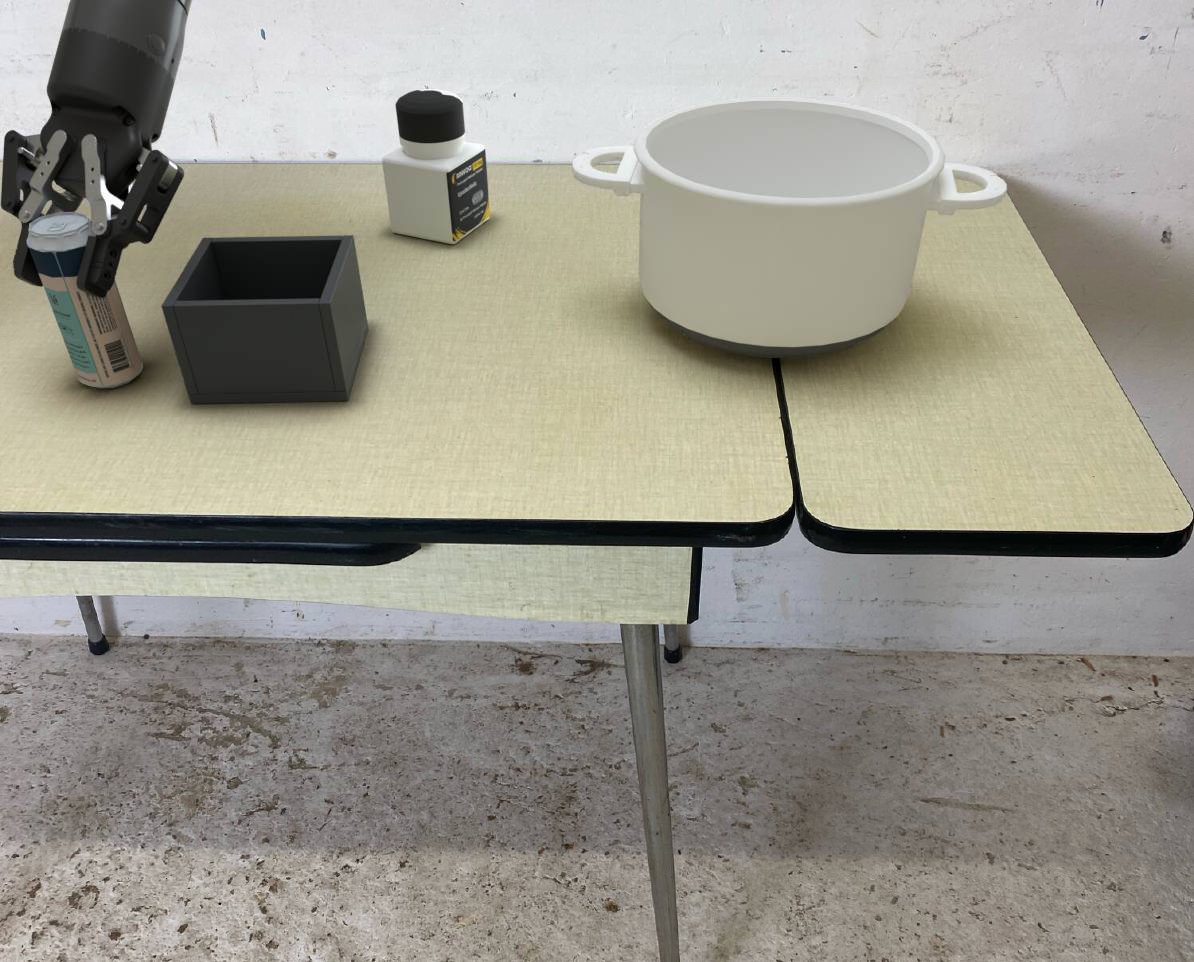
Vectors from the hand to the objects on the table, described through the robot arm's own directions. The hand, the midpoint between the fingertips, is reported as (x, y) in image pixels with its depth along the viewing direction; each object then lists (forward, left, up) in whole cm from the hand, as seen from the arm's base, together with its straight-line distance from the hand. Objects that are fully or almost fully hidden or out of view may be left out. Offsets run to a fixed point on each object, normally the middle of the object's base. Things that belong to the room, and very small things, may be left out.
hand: (59, 286), depth 74 cm
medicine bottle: (+24, +30, -8) cm, 39 cm away
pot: (+53, +11, -8) cm, 54 cm away
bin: (+14, +3, -8) cm, 16 cm away
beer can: (+1, +2, -8) cm, 9 cm away
